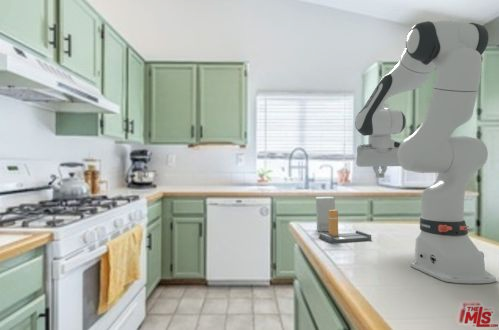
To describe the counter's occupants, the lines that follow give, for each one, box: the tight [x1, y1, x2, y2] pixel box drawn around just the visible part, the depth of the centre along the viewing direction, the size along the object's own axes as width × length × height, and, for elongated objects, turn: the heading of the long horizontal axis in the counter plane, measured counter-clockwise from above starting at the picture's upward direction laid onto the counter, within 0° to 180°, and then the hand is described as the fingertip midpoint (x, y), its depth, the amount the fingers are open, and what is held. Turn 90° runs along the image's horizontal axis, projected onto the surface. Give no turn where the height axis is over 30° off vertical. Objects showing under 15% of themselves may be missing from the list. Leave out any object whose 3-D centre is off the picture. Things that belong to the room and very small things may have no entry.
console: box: [319, 230, 372, 244], centre depth 144 cm, size 18×10×2 cm, turn 104°
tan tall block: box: [326, 209, 339, 237], centre depth 142 cm, size 4×4×11 cm
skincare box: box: [315, 196, 336, 233], centre depth 163 cm, size 8×7×16 cm
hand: (380, 177), depth 145 cm, fingers closed
